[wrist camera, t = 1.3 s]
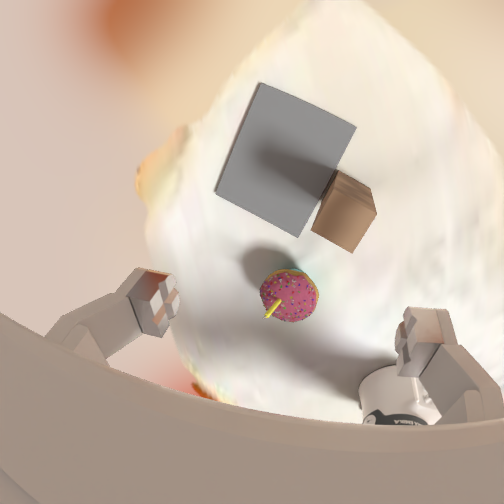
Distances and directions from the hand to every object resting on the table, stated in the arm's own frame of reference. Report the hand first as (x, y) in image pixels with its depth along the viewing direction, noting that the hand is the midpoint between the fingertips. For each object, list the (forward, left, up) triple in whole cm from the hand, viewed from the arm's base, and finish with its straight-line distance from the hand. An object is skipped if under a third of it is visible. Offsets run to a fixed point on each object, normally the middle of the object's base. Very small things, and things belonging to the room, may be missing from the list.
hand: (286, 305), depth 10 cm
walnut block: (-3, +3, -33) cm, 33 cm away
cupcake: (-3, +19, -33) cm, 38 cm away
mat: (+7, +3, -33) cm, 34 cm away
